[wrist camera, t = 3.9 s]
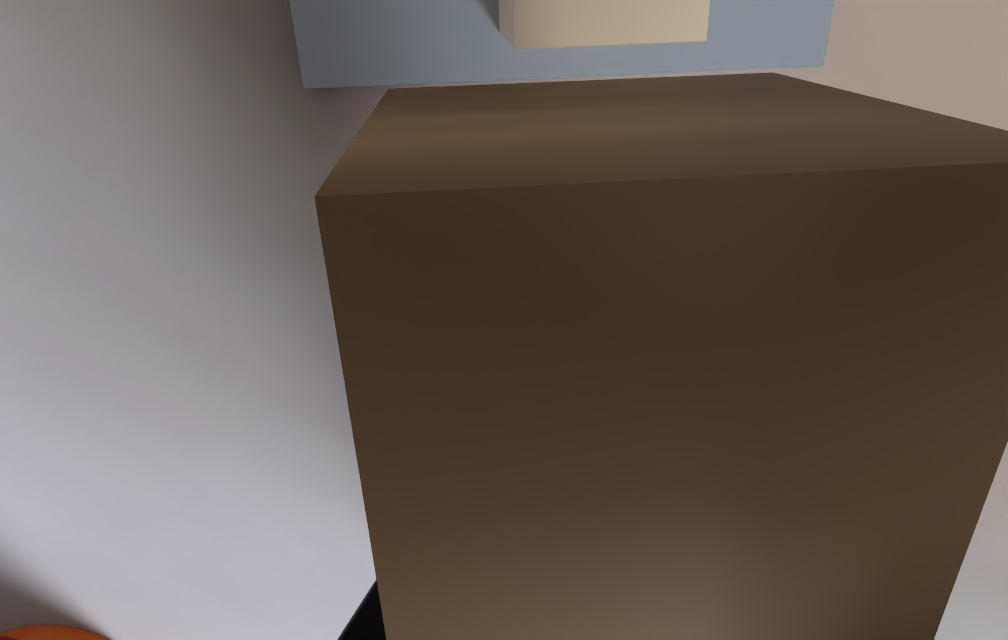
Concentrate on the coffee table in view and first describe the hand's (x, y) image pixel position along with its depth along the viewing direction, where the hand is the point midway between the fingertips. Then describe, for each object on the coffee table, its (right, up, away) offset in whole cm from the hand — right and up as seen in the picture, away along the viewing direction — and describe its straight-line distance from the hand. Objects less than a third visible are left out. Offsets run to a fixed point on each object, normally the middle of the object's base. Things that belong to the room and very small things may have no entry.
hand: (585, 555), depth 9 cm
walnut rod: (0, 0, +1) cm, 1 cm away
